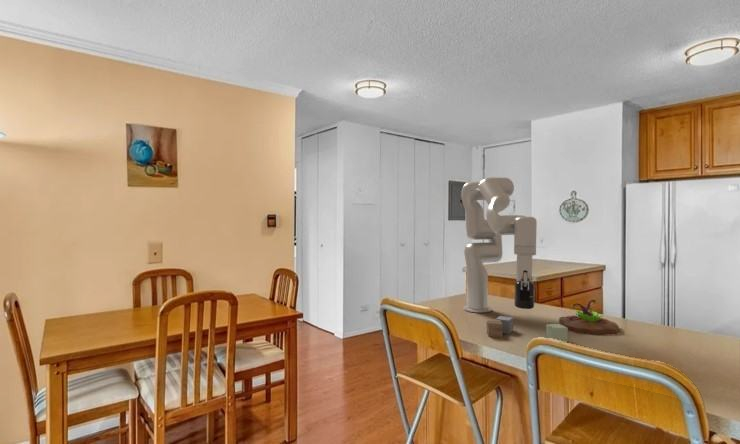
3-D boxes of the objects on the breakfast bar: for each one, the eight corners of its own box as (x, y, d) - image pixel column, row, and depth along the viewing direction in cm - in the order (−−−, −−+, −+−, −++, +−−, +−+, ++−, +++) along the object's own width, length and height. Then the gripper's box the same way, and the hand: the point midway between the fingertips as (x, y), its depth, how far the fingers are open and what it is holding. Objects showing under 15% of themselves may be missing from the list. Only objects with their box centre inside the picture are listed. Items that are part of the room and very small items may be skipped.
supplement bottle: (531, 310, 139) (531, 277, 139) (511, 307, 143) (512, 275, 143) (536, 306, 145) (536, 274, 144) (517, 303, 149) (518, 272, 148)
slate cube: (500, 328, 153) (499, 316, 153) (513, 330, 150) (513, 317, 150) (496, 331, 149) (496, 318, 149) (509, 333, 146) (509, 320, 146)
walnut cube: (486, 332, 148) (486, 319, 148) (500, 333, 147) (500, 320, 147) (488, 336, 143) (488, 323, 143) (502, 337, 142) (502, 323, 142)
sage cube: (546, 338, 140) (546, 324, 140) (559, 337, 140) (559, 323, 140) (554, 342, 135) (553, 328, 135) (567, 342, 135) (567, 327, 135)
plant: (627, 337, 141) (627, 306, 141) (569, 334, 145) (568, 304, 145) (607, 322, 160) (607, 295, 160) (555, 320, 164) (555, 293, 164)
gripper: (513, 247, 152) (513, 292, 153) (514, 252, 136) (513, 303, 137) (534, 247, 150) (533, 293, 151) (537, 253, 133) (536, 305, 134)
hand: (524, 297), depth 144 cm, fingers closed on supplement bottle, 6 cm apart
